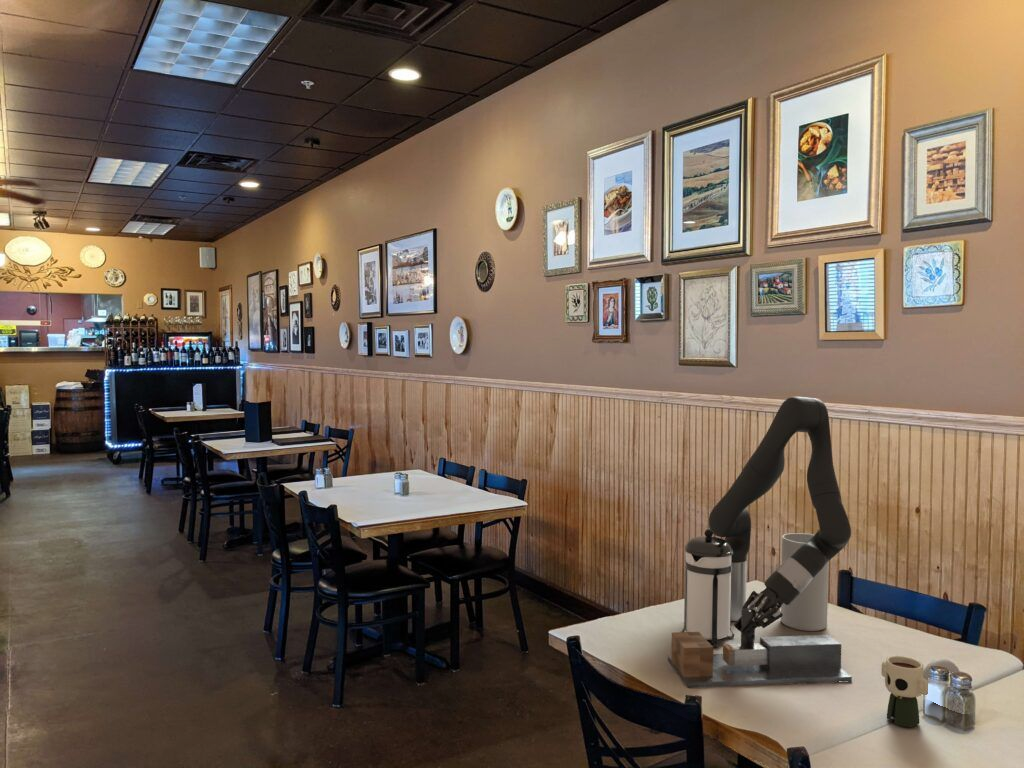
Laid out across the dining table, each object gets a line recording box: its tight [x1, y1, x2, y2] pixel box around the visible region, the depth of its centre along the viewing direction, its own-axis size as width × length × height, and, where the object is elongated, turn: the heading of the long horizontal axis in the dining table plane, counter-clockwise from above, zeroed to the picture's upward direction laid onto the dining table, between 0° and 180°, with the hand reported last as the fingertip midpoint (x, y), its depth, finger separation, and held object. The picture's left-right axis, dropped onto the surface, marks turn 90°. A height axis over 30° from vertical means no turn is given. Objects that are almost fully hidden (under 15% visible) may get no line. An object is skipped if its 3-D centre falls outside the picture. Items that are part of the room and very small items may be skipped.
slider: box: [722, 608, 769, 666], centre depth 187 cm, size 4×24×13 cm, turn 96°
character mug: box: [881, 655, 928, 728], centre depth 161 cm, size 11×7×13 cm, turn 24°
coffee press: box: [680, 528, 735, 649], centre depth 209 cm, size 17×16×30 cm
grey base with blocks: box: [667, 634, 853, 689], centre depth 187 cm, size 16×40×7 cm, turn 96°
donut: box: [923, 658, 961, 681], centre depth 170 cm, size 10×4×10 cm, turn 107°
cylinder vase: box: [780, 532, 830, 632], centre depth 219 cm, size 12×12×25 cm
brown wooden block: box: [670, 631, 714, 677], centre depth 185 cm, size 10×7×7 cm
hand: (740, 631), depth 186 cm, fingers closed on slider, 3 cm apart
